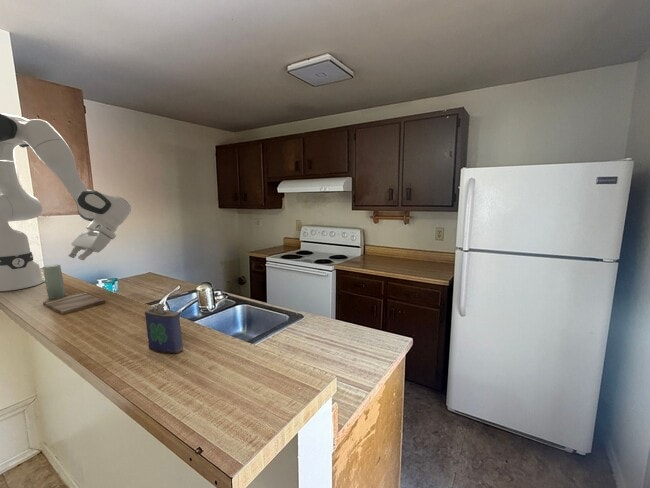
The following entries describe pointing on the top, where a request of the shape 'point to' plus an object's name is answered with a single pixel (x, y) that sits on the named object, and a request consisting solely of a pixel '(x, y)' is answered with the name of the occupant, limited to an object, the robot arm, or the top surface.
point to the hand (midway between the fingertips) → (75, 258)
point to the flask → (163, 330)
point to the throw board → (73, 303)
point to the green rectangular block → (54, 281)
